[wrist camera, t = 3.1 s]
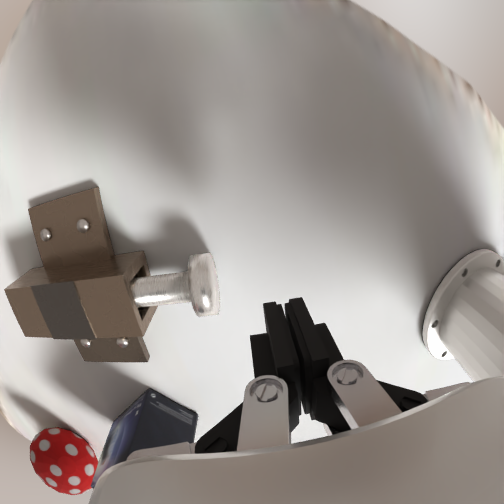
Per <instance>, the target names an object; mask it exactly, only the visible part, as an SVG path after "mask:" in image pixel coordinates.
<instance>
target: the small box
mask: <svg viewBox="0 0 504 504" xmlns="http://www.w3.org/2000/svg"><path fill="white" fill-rule="evenodd" d="M197 420H198V414H196V413H194V412H192V411H190V410H188V409H186V408H184V407H182V406H180V405H178V404H176V403H175V402H173V401H171V400H169V399H168V398H166V397H164V396H163V395H161V394H159V393H157V392H156V391H154V390H152V389H148V390H147V391H146V392H145V393H143V394H142V395H141V396H140V397H139V398H138V399H137V400H136V401H135V402H134V403H133V404H132V405H131V406H130V407H129V408H128V409H126V410H125V411H124V412H123V413H122V414H121V415H120V416H119V417H118V418H117V419H116V420H115V421H114V422H113V424H112V427H111V429H110V432H109V435H108V437H107V440H106V443H105V445H104V448H103V451H102V454H101V457H100V459H99V462H98V465H97V468H96V471H95V474H94V477H93V480H92V484H91V487H92V488H94V487H95V485H96V483H97V481H98V479H99V477H100V476H101V475H102V473H103V472H104V471H105V470H107V469H108V468H110V467H111V466H114V465H116V464H119V463H121V462H125V461H126V459H127V458H128V456H129V455H130V454H131V453H133V452H134V451H137V450H141V449H148V448H155V447H161V446H167V445H173V444H178V443H183V442H188V443H189V444H191V443H194V438H195V432H196V426H197Z"/></svg>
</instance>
